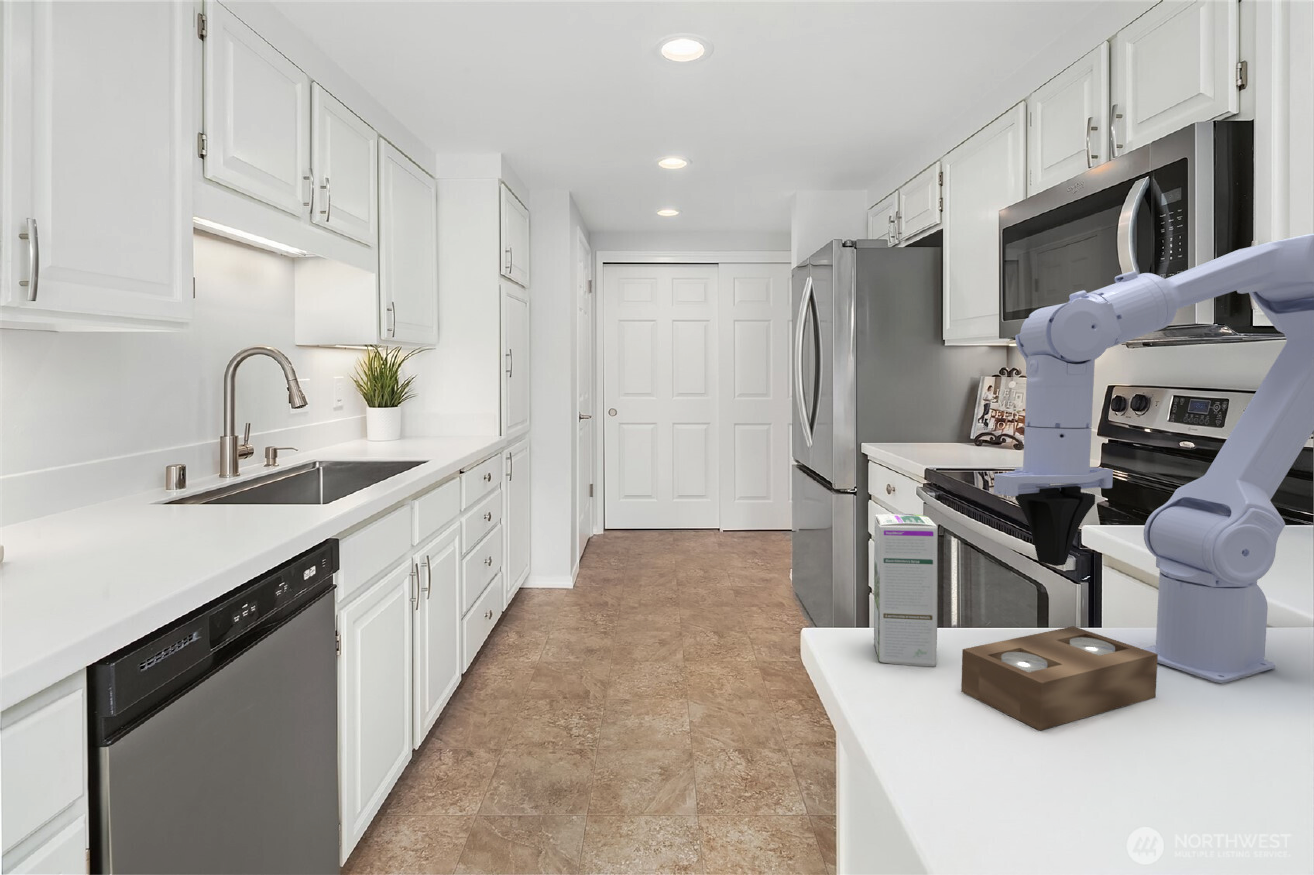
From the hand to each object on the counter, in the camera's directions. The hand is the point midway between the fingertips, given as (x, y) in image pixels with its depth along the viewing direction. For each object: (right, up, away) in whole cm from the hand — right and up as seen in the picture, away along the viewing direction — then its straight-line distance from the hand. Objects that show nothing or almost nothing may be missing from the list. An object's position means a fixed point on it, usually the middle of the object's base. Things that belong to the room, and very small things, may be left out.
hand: (1051, 563), depth 69 cm
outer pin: (-7, -11, -8) cm, 15 cm away
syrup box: (-14, -10, +3) cm, 17 cm away
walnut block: (-3, -11, -6) cm, 13 cm away
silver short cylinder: (+1, -11, -4) cm, 12 cm away
